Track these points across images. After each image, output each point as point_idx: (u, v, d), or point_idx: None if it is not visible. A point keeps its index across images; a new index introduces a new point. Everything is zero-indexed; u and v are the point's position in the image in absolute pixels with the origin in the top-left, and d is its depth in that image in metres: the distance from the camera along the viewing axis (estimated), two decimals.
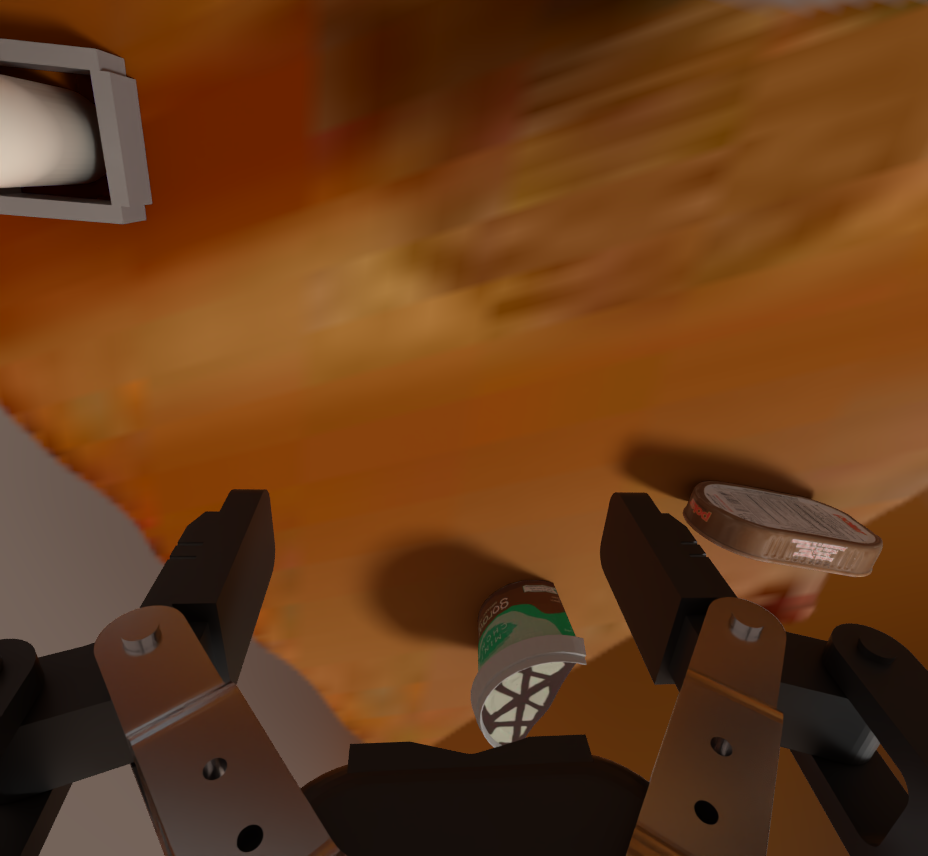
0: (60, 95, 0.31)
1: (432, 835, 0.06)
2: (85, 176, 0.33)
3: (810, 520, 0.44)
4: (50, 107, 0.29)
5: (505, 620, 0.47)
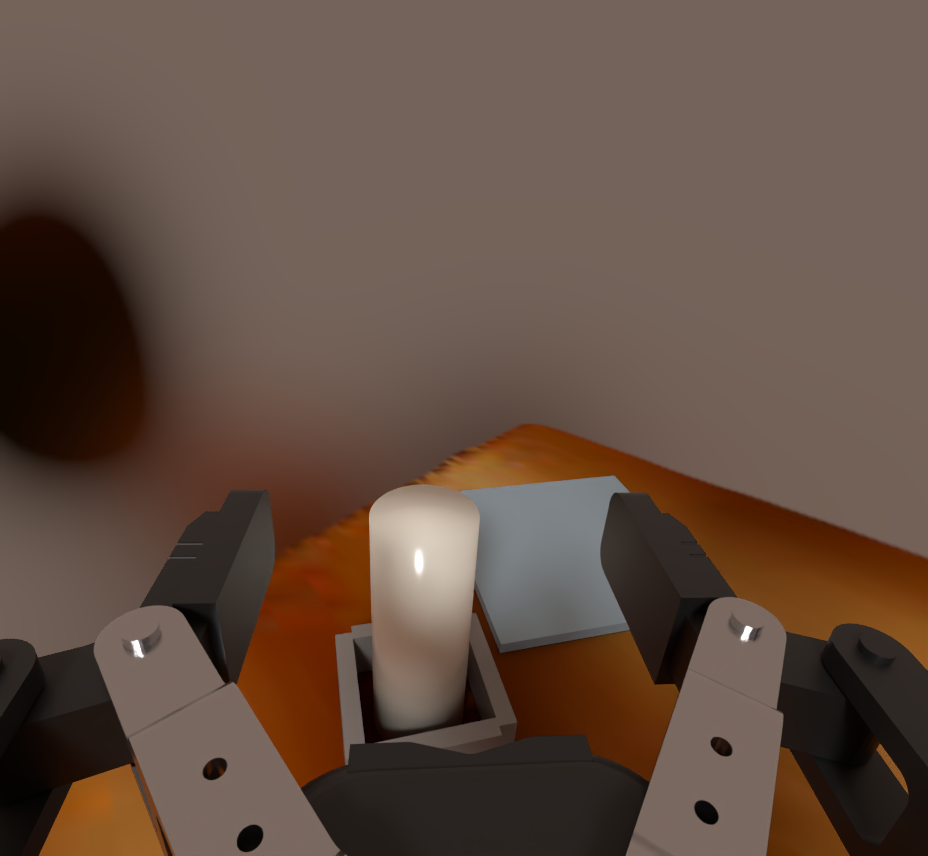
0: (462, 694, 0.31)
1: (432, 835, 0.06)
2: (388, 721, 0.30)
3: None
4: (454, 678, 0.29)
5: None
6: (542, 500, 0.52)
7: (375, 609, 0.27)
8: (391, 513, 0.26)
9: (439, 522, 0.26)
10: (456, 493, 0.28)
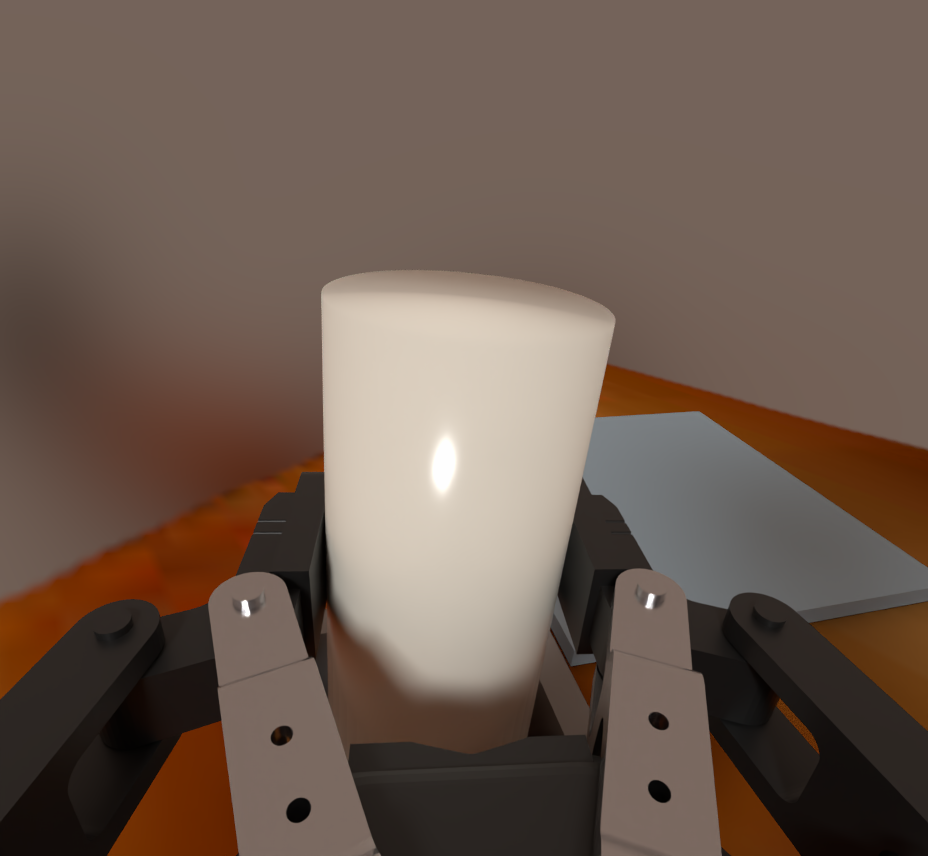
0: None
1: (432, 835, 0.06)
2: None
3: None
4: (515, 724, 0.12)
5: None
6: (604, 438, 0.35)
7: (333, 550, 0.11)
8: (382, 291, 0.10)
9: (511, 310, 0.10)
10: (537, 285, 0.12)
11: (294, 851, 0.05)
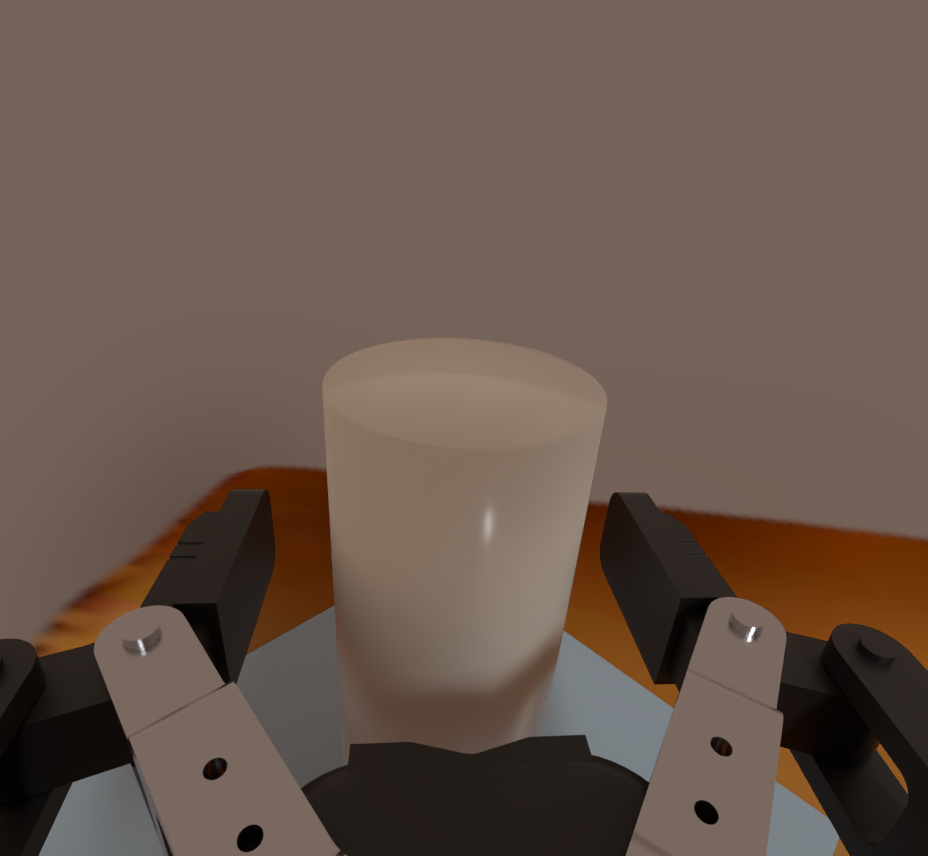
0: None
1: (432, 835, 0.06)
2: None
3: None
4: None
5: None
6: (317, 682, 0.21)
7: (341, 620, 0.11)
8: (380, 377, 0.10)
9: (505, 397, 0.10)
10: (533, 353, 0.12)
11: None
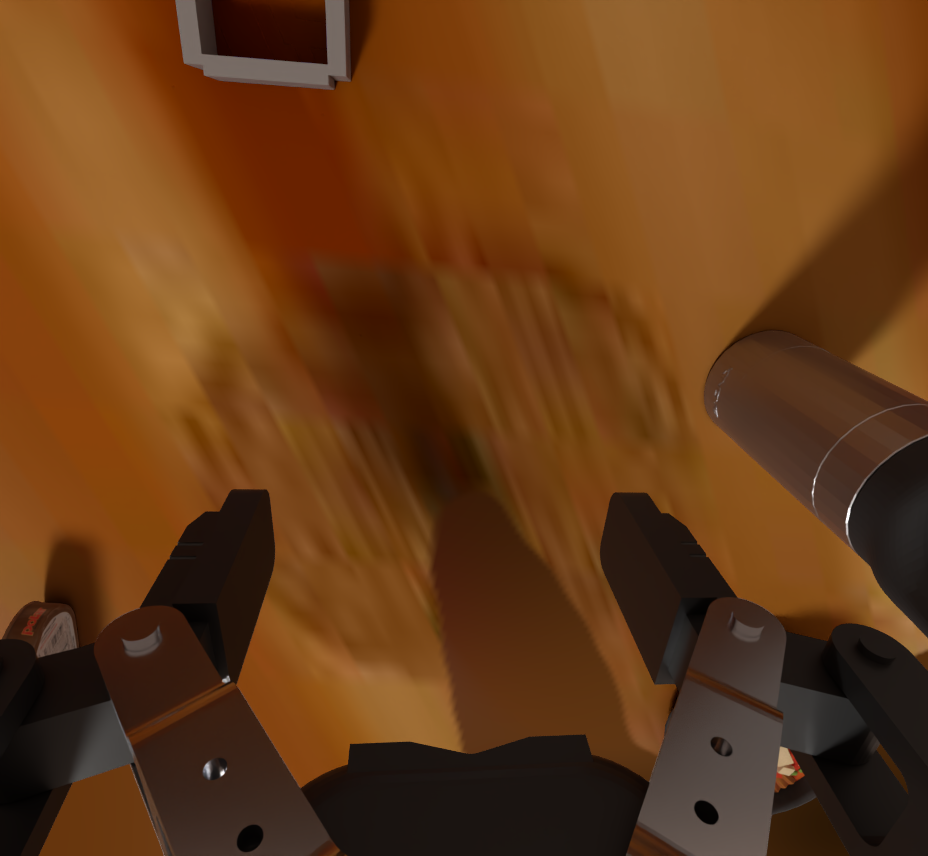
0: None
1: (432, 835, 0.06)
2: None
3: None
4: None
5: None
6: None
7: None
8: None
9: None
10: None
11: None
